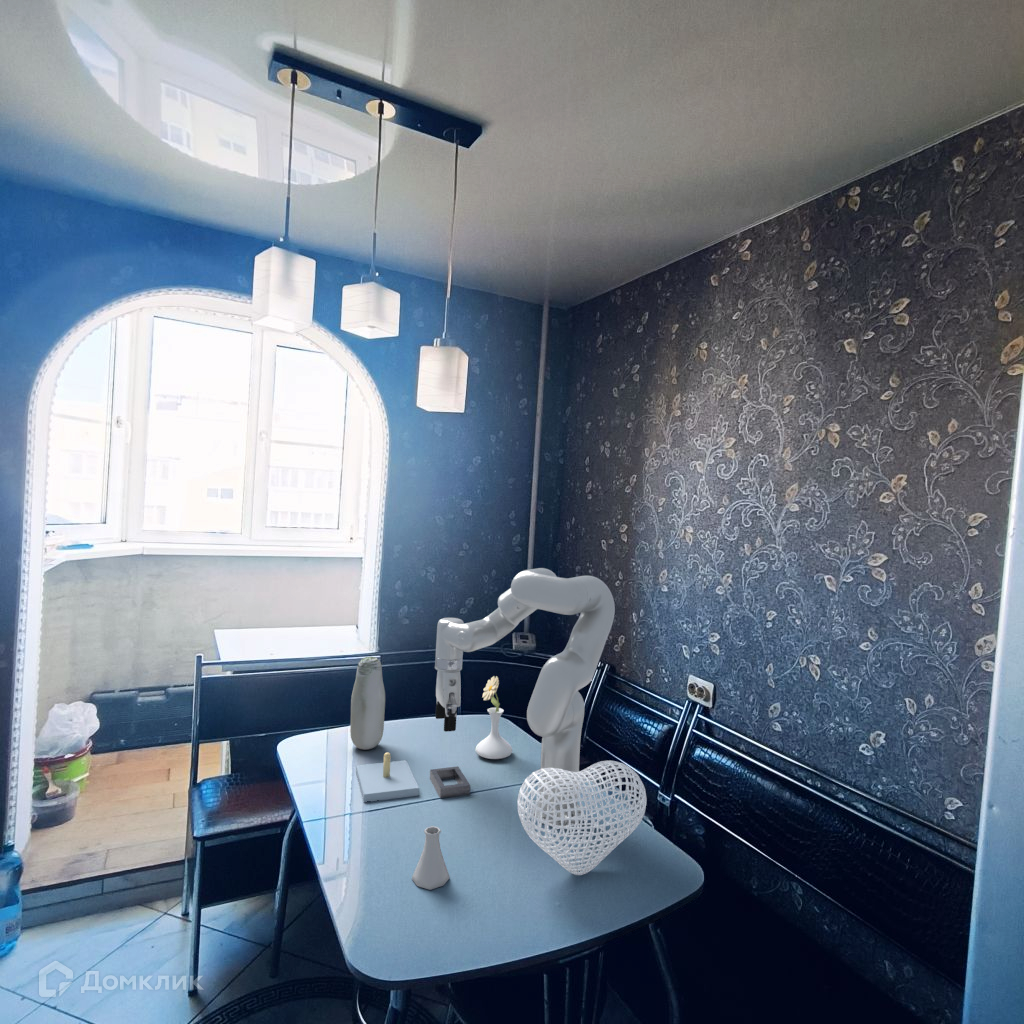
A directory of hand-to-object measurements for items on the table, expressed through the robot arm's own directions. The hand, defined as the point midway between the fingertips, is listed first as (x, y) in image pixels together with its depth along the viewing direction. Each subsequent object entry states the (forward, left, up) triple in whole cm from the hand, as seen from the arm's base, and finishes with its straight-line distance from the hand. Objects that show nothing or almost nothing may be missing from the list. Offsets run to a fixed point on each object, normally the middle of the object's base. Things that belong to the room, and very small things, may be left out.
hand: (445, 724), depth 171 cm
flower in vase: (+10, -18, -15) cm, 26 cm away
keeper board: (0, +16, -15) cm, 22 cm away
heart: (-52, -16, -15) cm, 56 cm away
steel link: (-6, 0, -15) cm, 16 cm away
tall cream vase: (+26, +18, -15) cm, 35 cm away
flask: (-45, +14, -15) cm, 49 cm away
